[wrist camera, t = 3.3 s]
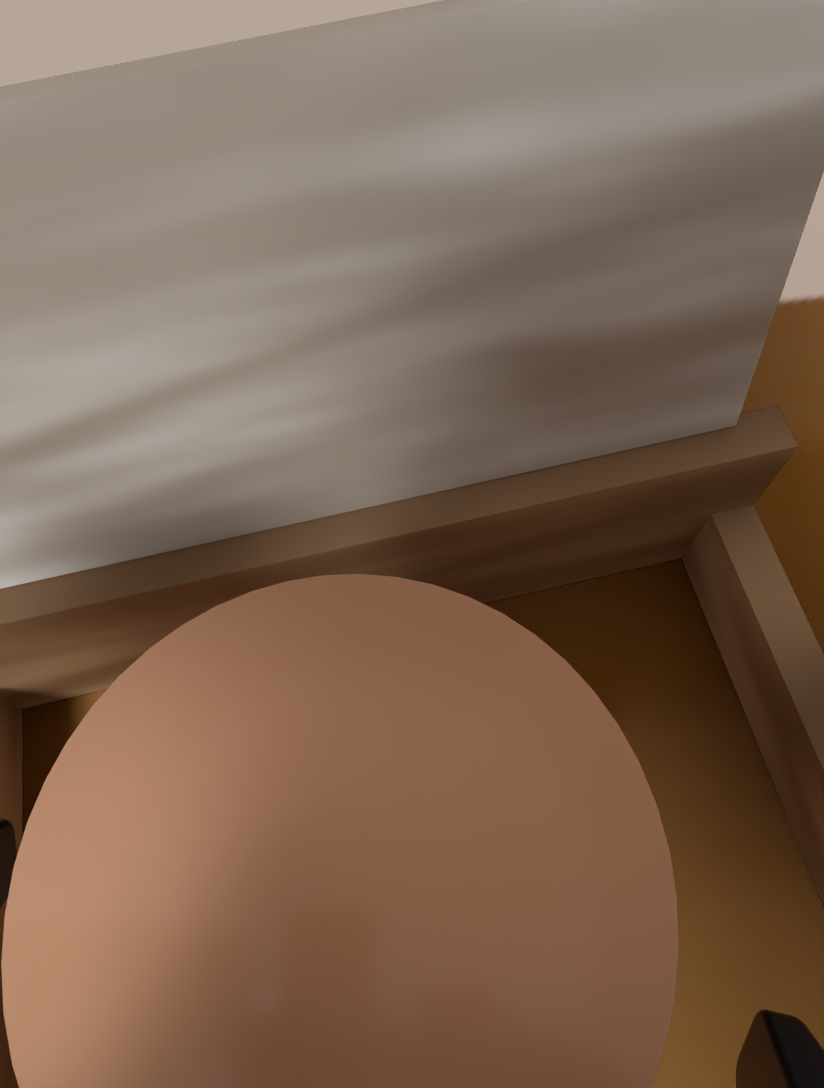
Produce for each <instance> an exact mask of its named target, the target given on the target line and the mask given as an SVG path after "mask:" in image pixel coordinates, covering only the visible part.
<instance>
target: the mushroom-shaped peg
mask: <svg viewBox="0 0 824 1088" xmlns="http://www.w3.org/2000/svg"><path fill="white" fill-rule="evenodd" d="M678 956H679V938H678V905H677V895H676V888H675V882H674V875H673V868H672V862H671V855H670V850H669V847H668V843H667V839H666V836H665V832H664V828H663V825H662V821H661V817H660V814H659V810H658V807H657V804H656V802H655V799H654V797H653V794H652V792H651V789H650V787H649V784H648V782H647V779H646V777H645V775H644V772H643V770H642V767H641V765H640V763H639V761H638V759H637V757H636V755H635V754H634V752H633V750H632V748H631V746H630V745H629V743H628V741H627V739H626V737H625V736H624V734H623V732H622V730H621V728H620V727H619V725H618V724H617V722H616V721H615V719H614V718H613V717H612V715H611V714H610V712H609V711H608V710H607V708H606V707H605V706H604V704H603V703H602V701H601V700H600V699H599V697H598V696H597V694H596V693H595V692H594V690H593V689H592V688H591V687H590V686H589V685H588V684H587V683H586V682H585V681H584V680H583V679H582V677H581V676H580V675H579V674H578V673H577V672H576V671H575V670H574V669H573V668H572V667H571V666H570V664H569V663H568V662H567V661H566V660H565V659H563V658H562V657H561V656H560V655H559V654H558V653H556V652H555V651H554V650H553V649H552V648H550V647H549V646H548V645H547V644H546V643H545V642H543V641H542V640H541V639H540V638H539V637H537V636H536V635H535V634H534V633H532V632H530V631H529V630H527V629H526V628H524V627H523V626H521V625H520V624H518V623H517V622H515V621H514V620H512V619H511V618H509V617H507V616H506V615H504V614H503V613H501V612H499V611H497V610H495V609H493V608H491V607H489V606H487V605H485V604H483V603H480V602H478V601H476V600H474V599H472V598H470V597H468V596H465V595H462V594H459V593H456V592H454V591H451V590H448V589H445V588H442V587H439V586H436V585H433V584H428V583H424V582H419V581H414V580H409V579H405V578H400V577H392V576H380V575H368V574H343V575H322V576H316V577H310V578H303V579H297V580H291V581H286V582H282V583H279V584H275V585H272V586H268V587H265V588H261V589H258V590H254V591H251V592H249V593H246V594H244V595H241V596H239V597H237V598H234V599H232V600H229V601H227V602H225V603H222V604H220V605H217V606H215V607H213V608H212V609H210V610H208V611H206V612H204V613H203V614H201V615H199V616H197V617H196V618H194V619H192V620H190V621H188V622H187V623H185V624H183V625H181V626H180V627H179V628H177V629H176V630H174V631H173V632H172V633H170V634H169V635H167V636H166V637H165V638H163V639H162V640H161V641H159V642H158V643H156V644H155V645H154V646H152V647H151V648H150V649H148V650H147V651H146V652H145V653H144V654H143V655H142V656H141V657H140V658H138V659H137V660H136V661H135V662H134V663H133V664H132V665H131V666H130V667H128V668H127V669H126V670H125V671H124V672H123V673H122V674H121V675H120V676H119V677H118V678H117V679H116V680H115V681H114V682H113V683H112V685H111V686H110V687H109V688H108V689H107V690H106V691H105V692H104V694H103V695H102V696H101V697H100V698H99V699H98V700H97V701H96V703H95V704H94V705H93V706H92V707H91V708H90V710H89V711H88V713H87V714H86V716H85V717H84V718H83V720H82V721H81V723H80V724H79V725H78V727H77V728H76V730H75V731H74V732H73V734H72V735H71V737H70V738H69V739H68V741H67V742H66V744H65V746H64V748H63V749H62V751H61V753H60V755H59V757H58V758H57V760H56V762H55V764H54V765H53V767H52V769H51V771H50V773H49V774H48V776H47V778H46V780H45V782H44V784H43V786H42V789H41V791H40V794H39V796H38V798H37V801H36V803H35V805H34V808H33V810H32V812H31V815H30V817H29V819H28V822H27V825H26V828H25V831H24V835H23V838H22V841H21V844H20V848H19V851H18V854H17V858H16V861H15V864H14V868H13V873H12V878H11V884H10V889H9V894H8V900H7V905H6V911H5V918H4V932H3V947H2V961H1V969H2V990H3V1012H4V1019H5V1025H6V1031H7V1037H8V1043H9V1049H10V1055H11V1061H12V1066H13V1069H14V1072H15V1076H16V1079H17V1082H18V1086H19V1088H652V1085H653V1083H654V1080H655V1077H656V1074H657V1071H658V1069H659V1066H660V1063H661V1060H662V1057H663V1053H664V1049H665V1044H666V1039H667V1035H668V1030H669V1026H670V1021H671V1016H672V1012H673V1007H674V1001H675V989H676V978H677V967H678Z"/></svg>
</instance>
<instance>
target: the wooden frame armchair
mask: <svg viewBox="0 0 824 1088" xmlns="http://www.w3.org/2000/svg"><path fill="white" fill-rule="evenodd" d="M823 171H824V0H444V1H439V2H433V3H428V4H423V5H418V6H413V7H408V8H403V9H397V10H392V11H387V12H382V13H377V14H372V15H367V16H362V17H356V18H351V19H346V20H341V21H336V22H331V23H326V24H321V25H315V26H310V27H305V28H301V29H295V30H290V31H285V32H280V33H274V34H269V35H264V36H259V37H254V38H249V39H244V40H239V41H234V42H228V43H223V44H218V45H213V46H208V47H203V48H197V49H192V50H187V51H182V52H177V53H172V54H167V55H162V56H156V57H151V58H146V59H141V60H136V61H131V62H126V63H121V64H116V65H111V66H105V67H100V68H95V69H90V70H85V71H80V72H74V73H69V74H64V75H59V76H54V77H49V78H44V79H39V80H33V81H28V82H23V83H18V84H13V85H8V86H3V87H0V818H3V819H7V820H9V821H11V822H12V824H13V825H14V828H15V835H16V844H17V853H18V851H19V848H20V844H21V841H22V760H23V709H24V708H28V707H32V706H37V705H41V704H46V703H50V702H54V701H59V700H63V699H67V698H72V697H76V696H81V695H85V694H89V693H94V692H98V691H103V690H107V689H108V688H109V687H110V686H111V685H112V683H113V682H114V681H115V680H116V679H117V678H118V677H119V676H120V675H121V674H122V673H123V672H124V671H125V670H126V669H127V668H128V667H130V666H131V665H132V664H133V663H134V662H135V661H136V660H137V659H138V658H140V657H141V656H142V655H143V654H144V653H145V652H146V651H147V650H148V649H150V648H151V647H152V646H154V645H155V644H156V643H158V642H159V641H161V640H162V639H163V638H165V637H166V636H167V635H169V634H170V633H172V632H173V631H174V630H176V629H177V628H179V627H180V626H181V625H183V624H185V623H187V622H188V621H190V620H192V619H194V618H196V617H197V616H199V615H201V614H203V613H204V612H206V611H208V610H210V609H212V608H213V607H215V606H217V605H220V604H222V603H225V602H227V601H229V600H232V599H234V598H237V597H239V596H241V595H244V594H246V593H249V592H251V591H254V590H258V589H261V588H265V587H268V586H272V585H275V584H279V583H282V582H286V581H291V580H297V579H303V578H310V577H316V576H322V575H343V574H368V575H380V576H392V577H400V578H405V579H409V580H414V581H419V582H424V583H428V584H433V585H436V586H439V587H442V588H445V589H448V590H451V591H454V592H456V593H459V594H462V595H465V596H468V597H470V598H472V599H474V600H476V601H478V602H480V603H483V604H484V603H488V602H492V601H497V600H501V599H505V598H510V597H514V596H519V595H523V594H527V593H532V592H536V591H541V590H545V589H549V588H554V587H558V586H562V585H567V584H571V583H576V582H580V581H584V580H589V579H593V578H597V577H602V576H606V575H611V574H615V573H619V572H624V571H628V570H633V569H637V568H641V567H646V566H650V565H654V564H659V563H663V562H668V561H672V560H676V559H681V558H682V561H683V563H684V565H685V568H686V570H687V573H688V575H689V578H690V580H691V583H692V585H693V587H694V590H695V592H696V595H697V597H698V600H699V602H700V605H701V607H702V609H703V612H704V614H705V617H706V619H707V622H708V624H709V627H710V629H711V631H712V634H713V636H714V639H715V641H716V644H717V646H718V649H719V651H720V653H721V656H722V658H723V661H724V663H725V666H726V668H727V671H728V673H729V675H730V678H731V680H732V683H733V685H734V688H735V690H736V693H737V695H738V697H739V700H740V702H741V705H742V707H743V710H744V712H745V715H746V717H747V719H748V722H749V724H750V727H751V729H752V732H753V734H754V737H755V739H756V741H757V744H758V746H759V749H760V751H761V754H762V756H763V759H764V761H765V763H766V766H767V768H768V771H769V773H770V776H771V778H772V781H773V783H774V785H775V788H776V790H777V793H778V795H779V798H780V800H781V803H782V805H783V807H784V810H785V812H786V815H787V817H788V820H789V822H790V825H791V827H792V829H793V832H794V834H795V837H796V839H797V842H798V844H799V847H800V849H801V851H802V854H803V856H804V859H805V861H806V864H807V866H808V869H809V871H810V873H811V876H812V878H813V881H814V883H815V886H816V888H817V890H818V893H819V895H820V898H821V900H822V903H823V905H824V654H823V652H822V650H821V648H820V645H819V643H818V641H817V639H816V637H815V635H814V633H813V631H812V628H811V626H810V624H809V622H808V620H807V618H806V616H805V613H804V611H803V609H802V607H801V605H800V603H799V601H798V599H797V596H796V594H795V592H794V590H793V588H792V586H791V584H790V582H789V579H788V577H787V575H786V573H785V571H784V569H783V567H782V565H781V562H780V560H779V558H778V556H777V554H776V552H775V550H774V547H773V545H772V543H771V541H770V539H769V537H768V535H767V533H766V530H765V528H764V526H763V524H762V522H761V520H760V518H759V516H758V513H757V511H756V509H755V507H754V503H755V502H756V501H757V500H758V498H759V497H760V496H761V494H762V493H763V492H764V490H765V489H766V488H767V487H768V485H769V484H770V483H771V481H772V480H773V479H774V477H775V476H776V475H777V474H778V472H779V471H780V470H781V468H782V467H783V466H784V464H785V463H786V462H787V461H788V459H789V458H790V457H791V455H792V454H793V453H794V451H795V450H796V449H797V448H798V444H797V442H796V440H795V438H794V436H793V434H792V432H791V430H790V428H789V427H788V425H787V423H786V421H785V419H784V417H783V415H782V413H781V411H780V409H779V407H778V405H776V406H772V407H767V408H762V409H758V410H753V411H749V412H744V413H741V410H742V407H743V404H744V401H745V399H746V396H747V393H748V390H749V387H750V384H751V381H752V378H753V375H754V372H755V369H756V367H757V364H758V361H759V358H760V355H761V352H762V349H763V346H764V343H765V340H766V337H767V334H768V332H769V329H770V326H771V323H772V320H773V317H774V314H775V311H776V308H777V305H778V302H779V299H780V297H781V294H782V291H783V288H784V285H785V282H786V279H787V276H788V273H789V270H790V267H791V264H792V262H793V259H794V256H795V253H796V250H797V247H798V244H799V241H800V238H801V235H802V232H803V230H804V227H805V224H806V221H807V218H808V215H809V212H810V209H811V206H812V203H813V200H814V197H815V195H816V192H817V189H818V186H819V183H820V180H821V177H822V174H823ZM7 900H8V899H7ZM7 900H6V902H5V903H4V905H3V907H2V908H1V910H0V1088H19V1086H18V1082H17V1079H16V1076H15V1072H14V1069H13V1066H12V1061H11V1055H10V1049H9V1043H8V1037H7V1031H6V1025H5V1019H4V1012H3V990H2V969H1V961H2V947H3V932H4V918H5V911H6V905H7Z"/></svg>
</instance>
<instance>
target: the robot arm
mask: <svg viewBox="0 0 824 1088" xmlns="http://www.w3.org/2000/svg"><path fill="white" fill-rule="evenodd" d="M17 854H18V853H17V844H16V835H15V828H14V825H13V824H12V822H11V821H9V820H7V819H3V818H0V910H1V908H2V907H3V905H4V903H5V902H6V900H7V899H8V894H9V889H10V884H11V878H12V873H13V868H14V864H15V861H16V858H17ZM736 1088H824V1049H823V1048H822V1047H821V1045H820V1044H819V1042H818V1041H817V1040H816V1038H815V1037H814V1036H813V1034H812V1033H811V1032H810V1030H809V1029H808V1028H807V1026H806V1025H805V1024H804V1023H803V1022H802V1021H801V1020H799V1019H798V1018H796V1017H793V1016H790V1015H786V1014H782V1013H778V1012H774V1011H770V1010H760V1011H759V1012H758V1013H757V1014H756V1015H755V1017H754V1019H753V1022H752V1024H751V1027H750V1029H749V1032H748V1034H747V1037H746V1039H745V1042H744V1044H743V1047H742V1049H741V1051H740V1054H739V1057H738V1060H737V1066H736Z"/></svg>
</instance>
